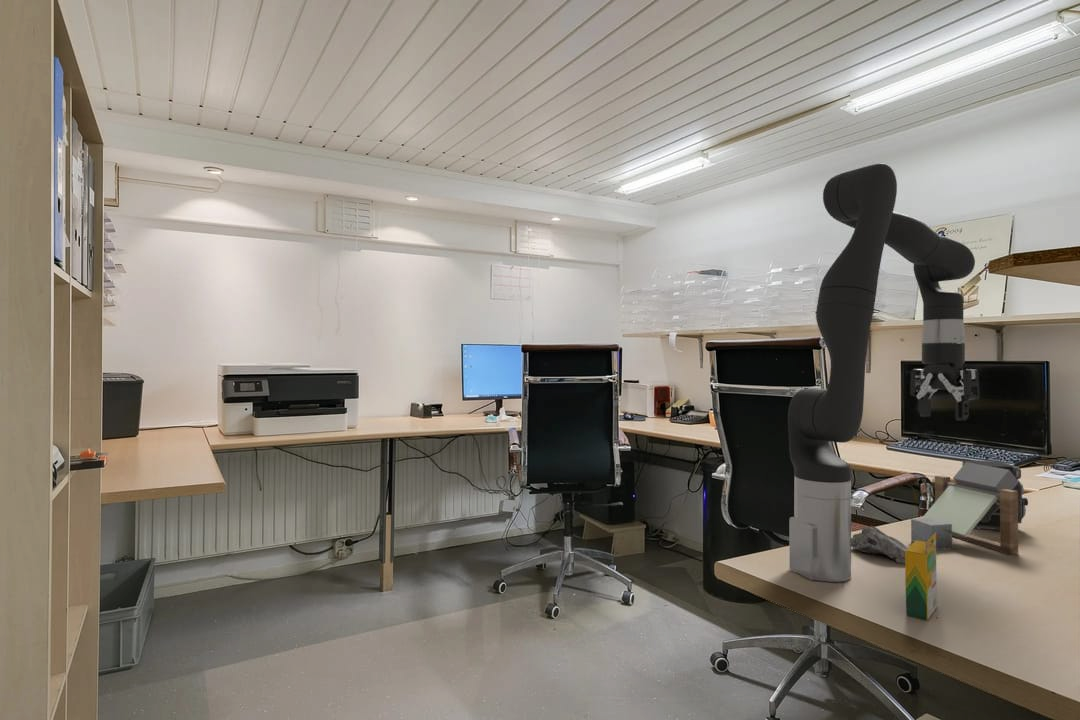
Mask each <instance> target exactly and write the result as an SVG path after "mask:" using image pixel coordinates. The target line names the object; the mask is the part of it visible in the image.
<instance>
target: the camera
mask: <svg viewBox="0 0 1080 720" xmlns="http://www.w3.org/2000/svg"><path fill="white" fill-rule="evenodd" d="M966 462H968V463H974V464H979V465H985V466H991V467H996V468H1002V469H1008V470H1010V471H1011V473H1012V474H1013V475H1014V476H1015V478H1016V479H1017V480H1018V481H1019V482H1018V484H1017V485H1016V486H1015V487H1014V489H1013V490H1014V491H1018V524H1022V520H1023V518H1025V516H1026V514H1027V509H1026V506H1028V505H1029V500H1028V498H1027V497H1023V495H1024V491H1025V490H1024V484H1022V482H1021V481H1020V479H1021V478H1022V469H1021V468H1020V467H1018V466H1016V465H1012V464H1010V463H1007V462H1001V461H999V460H998V461H997V460H963V461H962V463H961V464H962V466H961V467H963V465H964V464H965V463H966ZM975 528H976V529H977V530H979V529H980V530H981V529H987V530H999V531H1000V498H998V499H997V500H996V501H995V502H994V504H993V505H992V506H991V507H990V509H989V510H988V511H987V512H986V514H985V515H984V516H983V517H982V519H981V520H980V521H979V522H978V523H977V525H976V526H975Z"/></svg>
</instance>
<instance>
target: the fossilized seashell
mask: <svg viewBox="0 0 1080 720" xmlns="http://www.w3.org/2000/svg"><path fill="white" fill-rule="evenodd" d="M851 548H853V549H855V550H857V551H859V552H862V553H865V554H866V553H867V554H872V555H885V556H887V557H889V558H891V559H892V560H894V561H895V562H896V563H897V564H900V563H902V564H901V565H905V551H906V550H907V549H908V548H909V547H908V546H906V545H905V544H904V543H903V542H901V541H900V540H898V539H897V538H894V537H892V536H889V535H887V534H886V533H885V532H883V531H882V530H880V529H879V528H877V527H876V526H873V525H870V527H868V526H865V527H864V528H862V530H861V532H859V533H854V534H853V535H852V536H851Z"/></svg>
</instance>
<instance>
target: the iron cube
mask: <svg viewBox="0 0 1080 720" xmlns="http://www.w3.org/2000/svg"><path fill="white" fill-rule="evenodd" d="M910 525H911V527H910V531H911V532H910V538H911V540H910V541H911V543H912V542H913V543H914V542H915V541H923V542H927V541H928V539H929V538H930V537H931V536H932V535H933V534H934V533H935V532H936V550H944V548H947V549H952V548H953V536H952V524H950V523H947V522H944V521H940V520H937V519H933V518H923V517H921V518H911V519H910ZM913 543H912V544H913ZM930 543H933V540H931V542H930ZM942 548H943V549H942Z"/></svg>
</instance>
